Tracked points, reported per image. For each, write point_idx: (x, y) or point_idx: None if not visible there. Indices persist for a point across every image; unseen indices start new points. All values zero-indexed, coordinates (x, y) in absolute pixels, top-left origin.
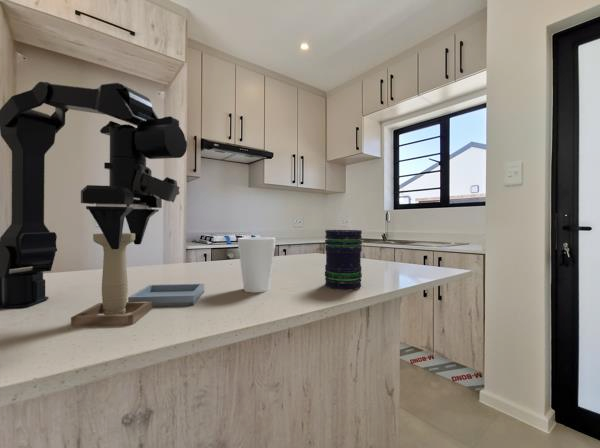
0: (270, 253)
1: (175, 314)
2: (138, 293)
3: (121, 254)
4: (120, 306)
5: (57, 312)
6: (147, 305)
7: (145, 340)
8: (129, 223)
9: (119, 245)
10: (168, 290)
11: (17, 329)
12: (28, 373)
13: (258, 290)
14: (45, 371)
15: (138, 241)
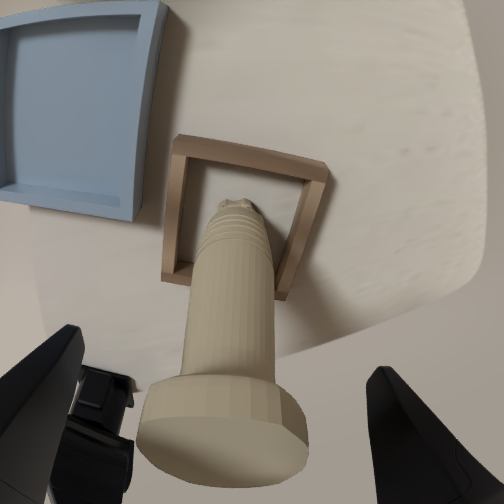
0: None
1: (265, 53)
2: (88, 202)
3: (258, 347)
4: (259, 218)
5: (164, 334)
6: (214, 145)
7: (444, 129)
8: (45, 474)
9: (393, 376)
10: (3, 132)
11: None
12: (468, 269)
13: None
14: (475, 253)
15: (76, 346)
